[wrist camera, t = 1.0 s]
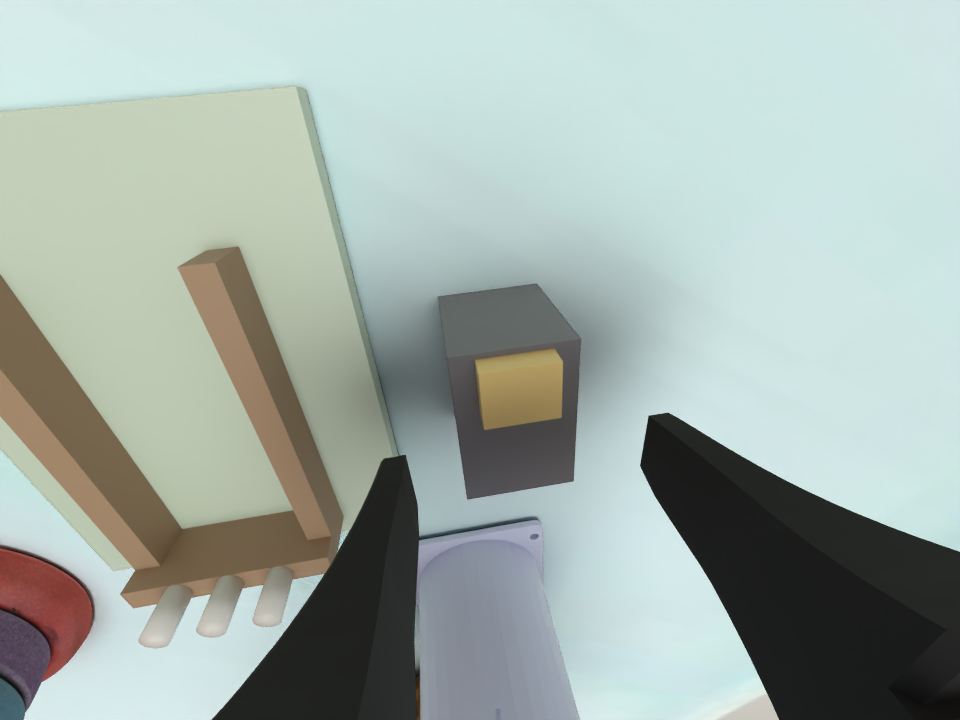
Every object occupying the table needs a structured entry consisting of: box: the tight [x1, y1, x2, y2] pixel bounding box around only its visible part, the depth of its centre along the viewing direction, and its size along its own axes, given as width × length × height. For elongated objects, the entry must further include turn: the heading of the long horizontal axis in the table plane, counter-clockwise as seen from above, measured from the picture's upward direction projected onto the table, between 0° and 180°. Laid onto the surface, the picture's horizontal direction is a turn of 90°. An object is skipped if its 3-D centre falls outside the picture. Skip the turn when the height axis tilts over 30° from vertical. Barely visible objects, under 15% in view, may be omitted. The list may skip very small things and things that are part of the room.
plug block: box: [438, 284, 581, 499], centre depth 15 cm, size 6×4×6 cm, turn 5°
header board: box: [0, 86, 398, 648], centre depth 13 cm, size 18×14×6 cm
